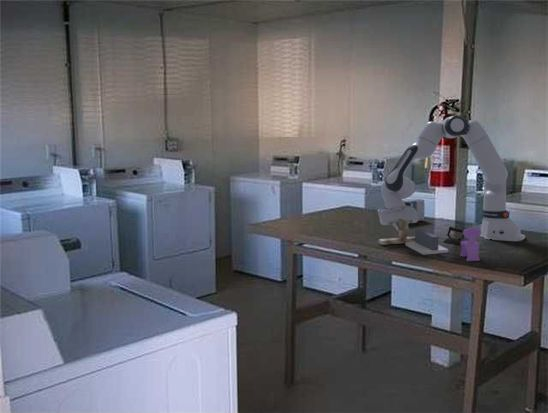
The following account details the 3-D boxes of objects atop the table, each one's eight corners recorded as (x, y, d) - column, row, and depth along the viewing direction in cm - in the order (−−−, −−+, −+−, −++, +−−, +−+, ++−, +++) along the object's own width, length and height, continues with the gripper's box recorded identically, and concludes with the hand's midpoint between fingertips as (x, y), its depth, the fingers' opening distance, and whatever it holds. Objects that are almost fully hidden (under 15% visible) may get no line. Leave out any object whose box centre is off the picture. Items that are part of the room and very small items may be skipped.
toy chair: (475, 255, 285) (476, 224, 283) (482, 260, 277) (483, 227, 274) (457, 256, 285) (458, 224, 283) (464, 261, 276) (465, 228, 274)
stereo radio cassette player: (399, 225, 357) (400, 191, 354) (389, 223, 364) (390, 190, 360) (425, 220, 368) (425, 188, 365) (414, 219, 375) (415, 186, 372)
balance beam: (422, 239, 318) (422, 216, 316) (425, 241, 314) (426, 218, 312) (378, 243, 313) (378, 220, 311) (381, 244, 309) (381, 221, 307)
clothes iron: (449, 241, 318) (455, 223, 315) (468, 249, 310) (474, 231, 307) (442, 242, 313) (447, 223, 310) (461, 250, 305) (467, 232, 302)
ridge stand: (405, 245, 308) (405, 229, 307) (429, 243, 311) (429, 228, 310) (423, 254, 289) (423, 238, 288) (448, 252, 292) (448, 236, 290)
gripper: (378, 205, 315) (385, 227, 307) (415, 203, 319) (423, 224, 311) (374, 212, 320) (382, 234, 312) (411, 210, 324) (419, 231, 316)
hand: (402, 229), depth 312 cm, fingers closed on balance beam, 3 cm apart
